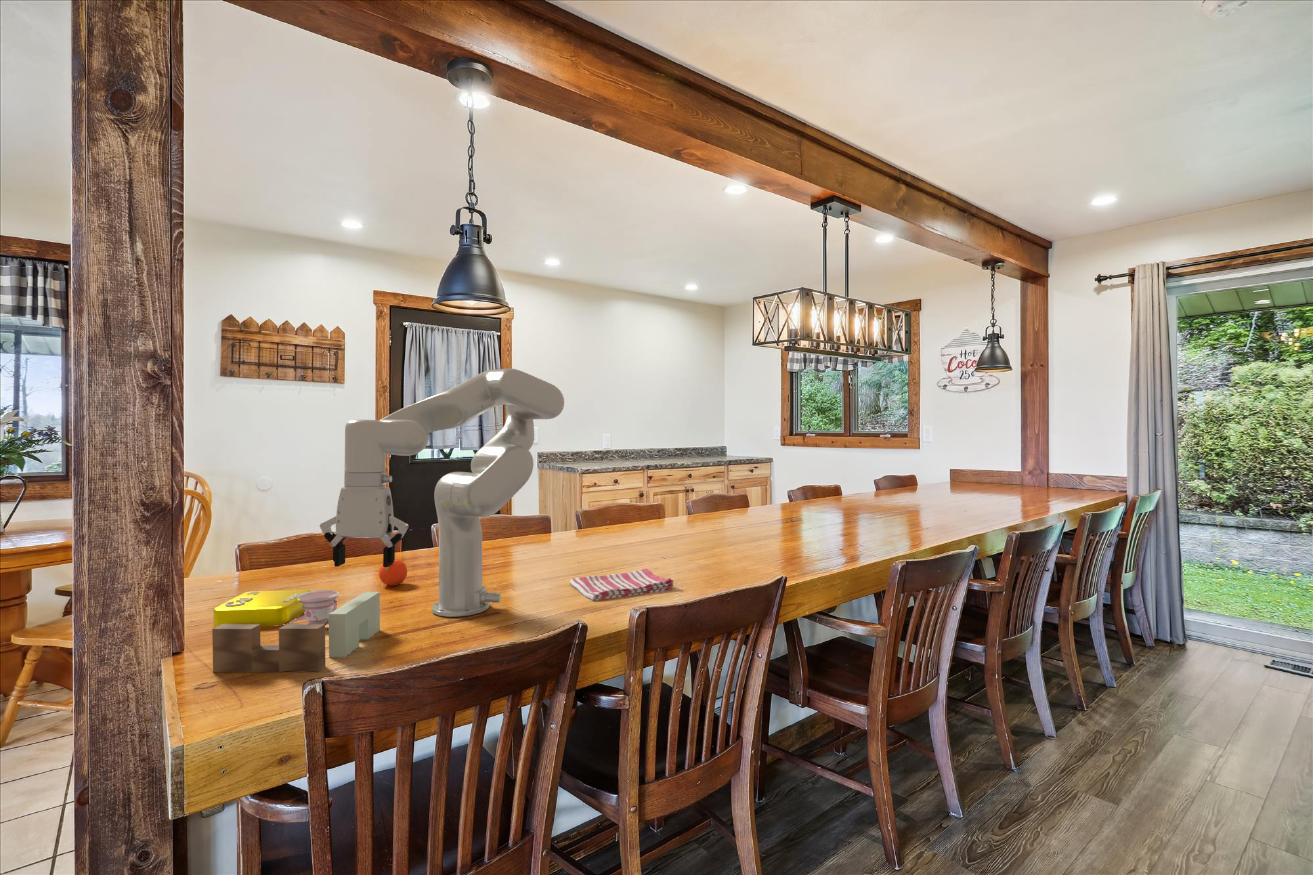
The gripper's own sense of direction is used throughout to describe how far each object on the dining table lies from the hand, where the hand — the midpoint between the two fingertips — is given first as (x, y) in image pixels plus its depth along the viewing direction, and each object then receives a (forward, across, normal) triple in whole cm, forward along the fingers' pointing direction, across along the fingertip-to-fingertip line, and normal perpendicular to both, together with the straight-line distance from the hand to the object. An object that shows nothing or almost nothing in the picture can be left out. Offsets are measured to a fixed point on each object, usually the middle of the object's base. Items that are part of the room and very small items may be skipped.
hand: (363, 565), depth 128 cm
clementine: (+14, +9, -39) cm, 42 cm away
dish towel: (+14, -51, -37) cm, 64 cm away
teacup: (+15, +13, -9) cm, 21 cm away
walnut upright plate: (+15, +8, +17) cm, 24 cm away
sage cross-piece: (+14, -1, +4) cm, 15 cm away
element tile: (+15, +27, -13) cm, 34 cm away
